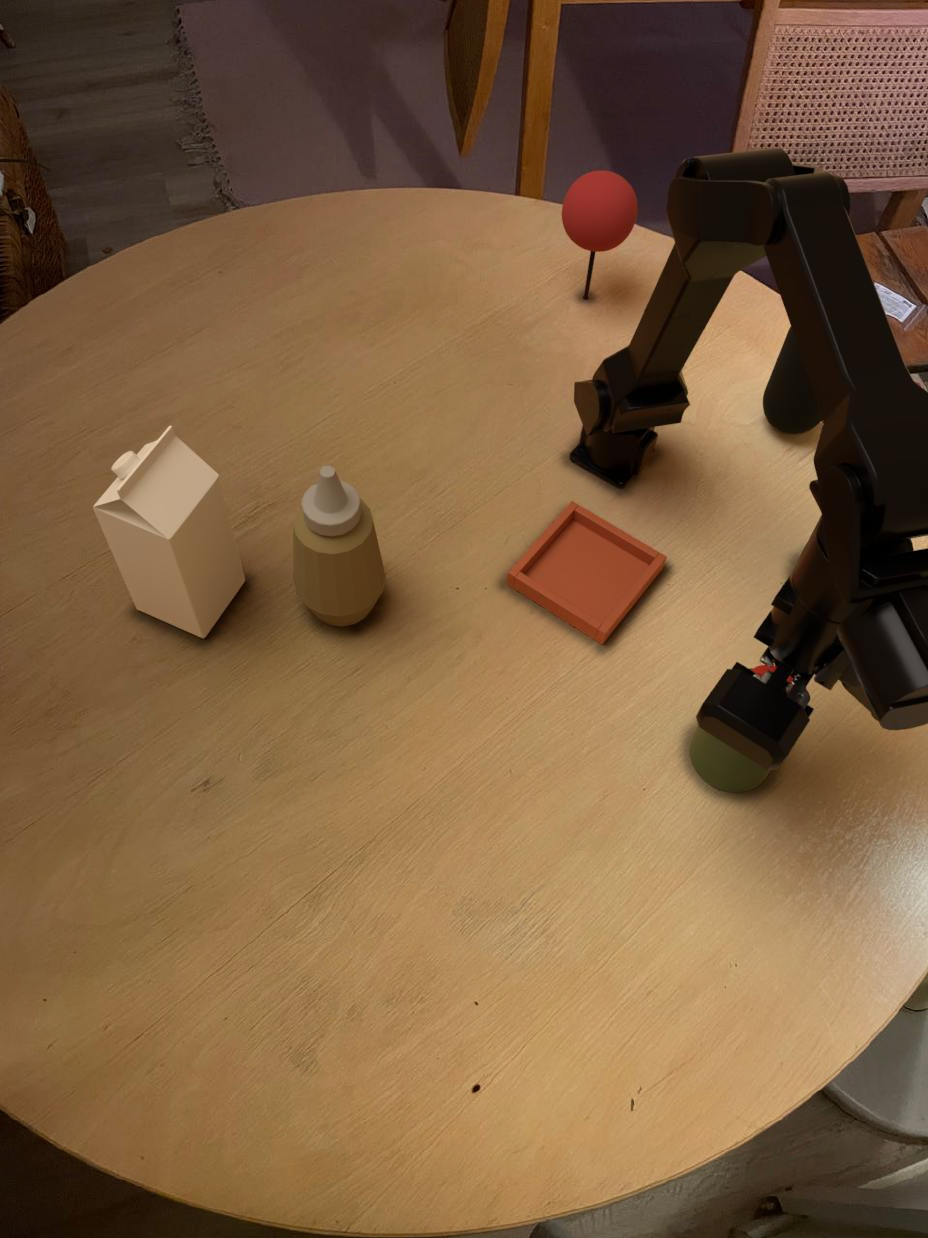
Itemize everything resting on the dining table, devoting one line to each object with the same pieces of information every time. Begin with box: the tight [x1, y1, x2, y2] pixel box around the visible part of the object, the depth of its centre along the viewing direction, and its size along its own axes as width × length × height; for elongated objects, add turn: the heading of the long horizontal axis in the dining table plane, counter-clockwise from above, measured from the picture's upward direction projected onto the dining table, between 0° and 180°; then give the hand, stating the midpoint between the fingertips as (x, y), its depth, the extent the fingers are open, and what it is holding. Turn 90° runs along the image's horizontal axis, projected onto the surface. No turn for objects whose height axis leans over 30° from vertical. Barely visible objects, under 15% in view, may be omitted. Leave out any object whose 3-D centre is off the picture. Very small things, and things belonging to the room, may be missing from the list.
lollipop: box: [561, 170, 639, 301], centre depth 111 cm, size 8×8×15 cm
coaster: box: [506, 500, 667, 645], centre depth 96 cm, size 11×11×2 cm
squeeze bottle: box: [292, 465, 387, 627], centre depth 87 cm, size 8×8×18 cm
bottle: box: [689, 667, 772, 793], centre depth 83 cm, size 7×7×12 cm
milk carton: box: [92, 425, 246, 639], centre depth 86 cm, size 7×7×19 cm
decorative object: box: [762, 326, 823, 435], centre depth 101 cm, size 7×7×15 cm
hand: (767, 700), depth 78 cm, fingers open, 5 cm apart
